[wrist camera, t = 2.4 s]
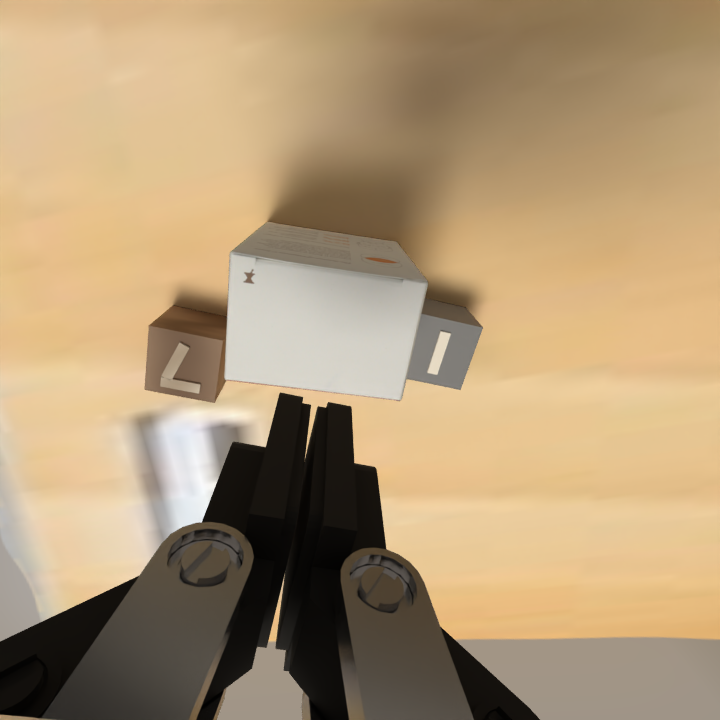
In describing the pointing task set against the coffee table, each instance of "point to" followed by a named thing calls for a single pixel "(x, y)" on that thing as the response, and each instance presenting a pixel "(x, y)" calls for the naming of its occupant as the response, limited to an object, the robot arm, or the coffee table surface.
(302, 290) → the small box
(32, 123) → the coffee table surface
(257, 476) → the robot arm
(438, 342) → the digit one block
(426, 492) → the coffee table surface
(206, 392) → the digit seven block
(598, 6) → the coffee table surface
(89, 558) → the coffee table surface
